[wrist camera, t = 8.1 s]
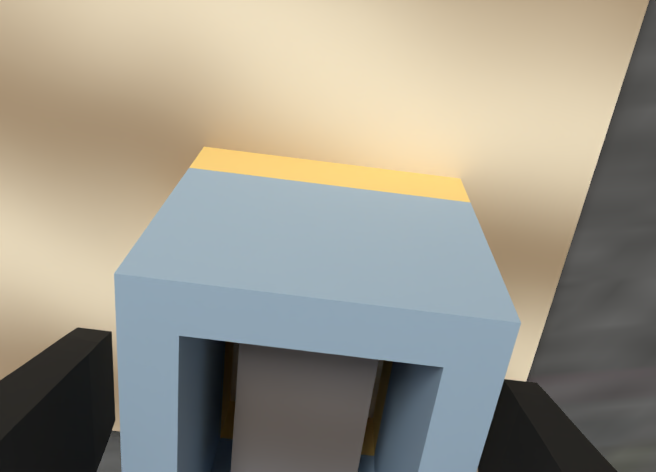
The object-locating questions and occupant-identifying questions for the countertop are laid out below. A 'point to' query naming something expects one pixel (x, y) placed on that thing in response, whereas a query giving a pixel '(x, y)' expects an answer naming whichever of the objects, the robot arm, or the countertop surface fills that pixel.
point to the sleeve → (311, 307)
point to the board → (292, 156)
